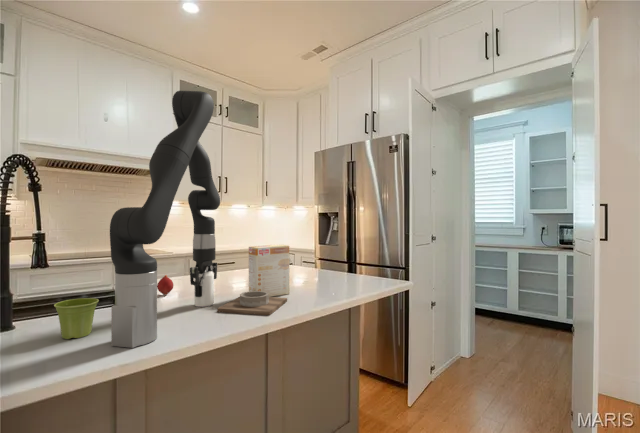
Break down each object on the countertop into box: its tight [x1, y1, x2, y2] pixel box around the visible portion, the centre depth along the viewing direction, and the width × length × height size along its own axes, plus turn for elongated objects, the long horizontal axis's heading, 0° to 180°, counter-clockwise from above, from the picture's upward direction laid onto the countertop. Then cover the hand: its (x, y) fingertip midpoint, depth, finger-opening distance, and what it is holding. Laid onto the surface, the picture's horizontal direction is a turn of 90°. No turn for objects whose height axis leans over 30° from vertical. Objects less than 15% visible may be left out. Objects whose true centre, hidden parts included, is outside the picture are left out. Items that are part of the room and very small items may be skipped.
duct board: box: [216, 290, 288, 316], centre depth 115 cm, size 18×18×4 cm
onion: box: [157, 274, 174, 296], centre depth 131 cm, size 6×6×8 cm
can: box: [193, 270, 215, 308], centre depth 117 cm, size 6×6×12 cm
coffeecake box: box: [248, 244, 290, 297], centre depth 132 cm, size 15×7×20 cm, turn 126°
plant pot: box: [53, 297, 100, 340], centre depth 87 cm, size 9×9×9 cm
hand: (204, 294), depth 116 cm, fingers closed on can, 6 cm apart
